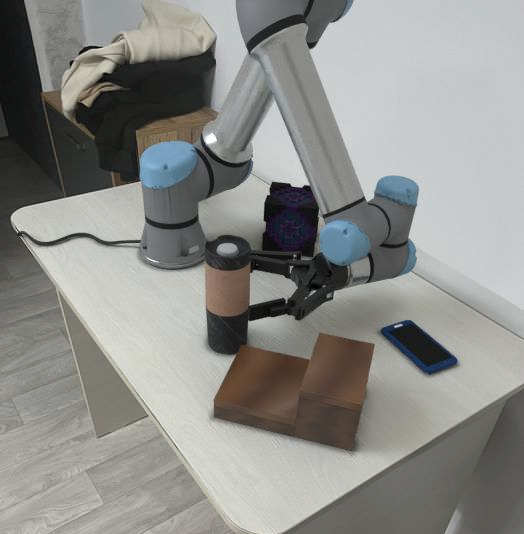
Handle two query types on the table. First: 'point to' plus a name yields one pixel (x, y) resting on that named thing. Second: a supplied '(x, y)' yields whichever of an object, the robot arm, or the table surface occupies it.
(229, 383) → the walnut shelf
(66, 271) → the table surface
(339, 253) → the robot arm
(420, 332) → the cell phone
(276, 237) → the energy cube
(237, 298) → the travel mug
